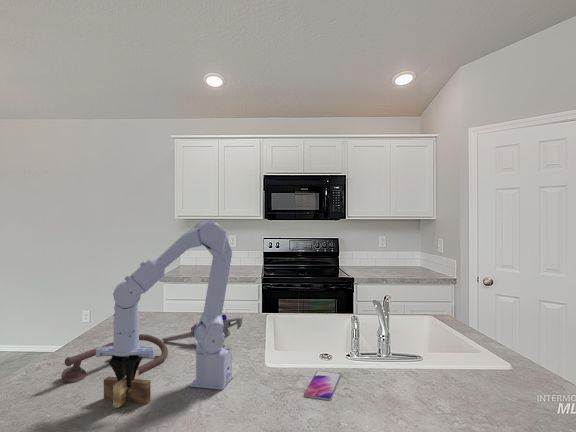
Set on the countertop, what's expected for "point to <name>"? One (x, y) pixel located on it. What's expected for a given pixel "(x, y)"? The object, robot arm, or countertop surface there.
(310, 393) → the smartphone
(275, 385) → the countertop surface
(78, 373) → the toilet paper hanger
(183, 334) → the toy gun
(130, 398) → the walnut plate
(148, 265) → the robot arm
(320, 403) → the countertop surface
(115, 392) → the light wooden block
